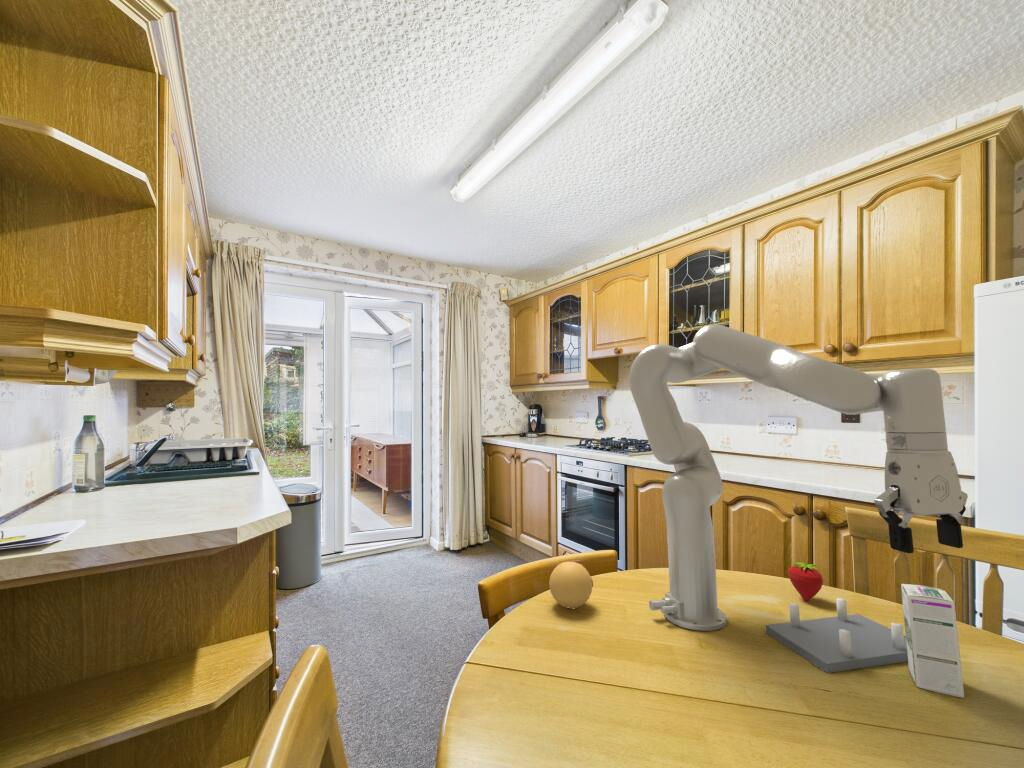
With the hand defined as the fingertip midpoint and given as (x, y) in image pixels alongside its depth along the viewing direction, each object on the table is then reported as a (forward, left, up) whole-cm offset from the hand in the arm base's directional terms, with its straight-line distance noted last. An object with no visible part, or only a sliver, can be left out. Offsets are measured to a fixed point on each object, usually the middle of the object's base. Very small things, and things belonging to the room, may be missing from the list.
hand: (926, 548), depth 72 cm
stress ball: (-48, +40, -22) cm, 66 cm away
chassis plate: (-3, +13, -21) cm, 25 cm away
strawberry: (+6, +31, -22) cm, 38 cm away
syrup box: (0, 0, -22) cm, 22 cm away
